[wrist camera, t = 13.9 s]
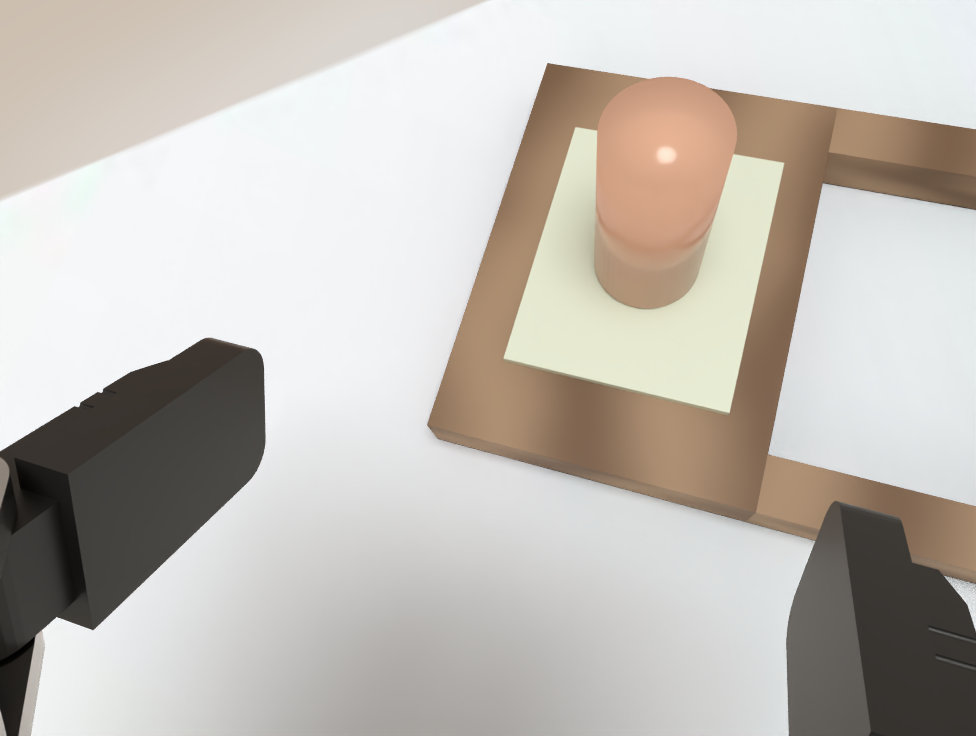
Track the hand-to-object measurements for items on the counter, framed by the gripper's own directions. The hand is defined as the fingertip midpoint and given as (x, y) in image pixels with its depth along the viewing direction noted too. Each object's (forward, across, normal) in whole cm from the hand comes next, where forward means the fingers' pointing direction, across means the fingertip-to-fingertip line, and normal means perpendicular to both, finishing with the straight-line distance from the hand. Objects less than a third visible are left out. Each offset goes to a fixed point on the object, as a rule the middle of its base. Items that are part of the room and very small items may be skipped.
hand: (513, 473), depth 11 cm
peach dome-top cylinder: (+19, 0, +3) cm, 20 cm away
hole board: (+21, -6, +5) cm, 22 cm away
